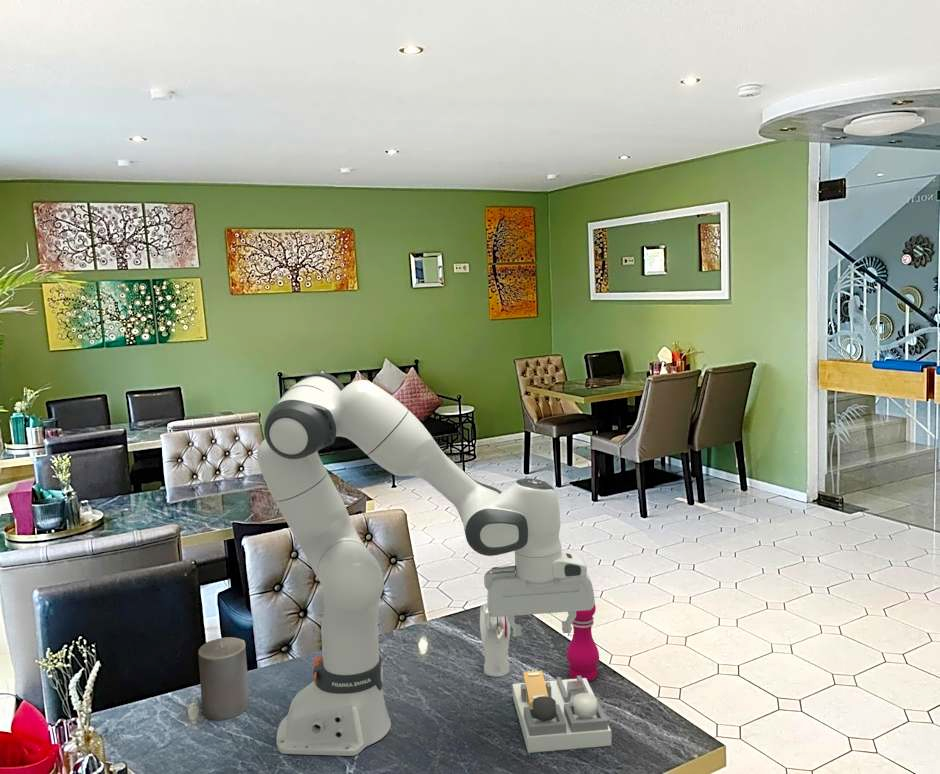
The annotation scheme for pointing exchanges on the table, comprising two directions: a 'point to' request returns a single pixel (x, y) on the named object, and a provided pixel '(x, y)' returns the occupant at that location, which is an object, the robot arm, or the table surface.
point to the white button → (585, 705)
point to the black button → (544, 708)
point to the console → (560, 721)
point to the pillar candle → (223, 678)
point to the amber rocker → (534, 685)
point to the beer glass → (494, 643)
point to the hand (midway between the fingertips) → (542, 633)
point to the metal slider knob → (574, 689)
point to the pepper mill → (583, 647)
